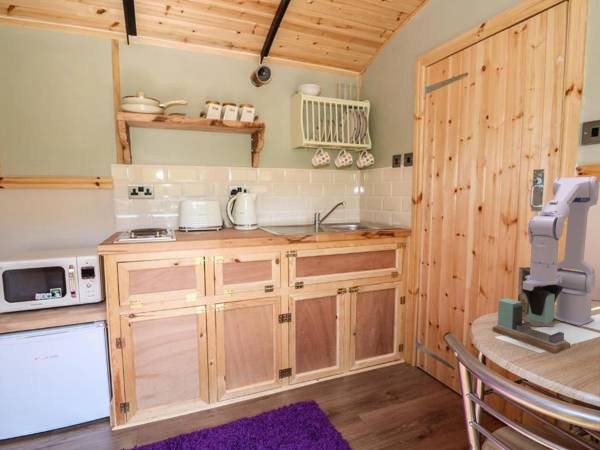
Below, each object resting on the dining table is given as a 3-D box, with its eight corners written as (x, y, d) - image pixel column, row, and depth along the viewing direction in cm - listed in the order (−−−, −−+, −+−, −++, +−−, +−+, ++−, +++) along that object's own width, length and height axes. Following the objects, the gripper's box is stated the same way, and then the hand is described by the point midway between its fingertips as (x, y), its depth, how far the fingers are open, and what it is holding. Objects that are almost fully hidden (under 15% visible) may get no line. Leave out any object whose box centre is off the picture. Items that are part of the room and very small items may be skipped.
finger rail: (507, 326, 101) (508, 296, 100) (569, 347, 86) (571, 313, 86) (492, 330, 97) (493, 300, 97) (555, 353, 83) (556, 318, 82)
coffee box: (554, 327, 99) (557, 273, 98) (530, 326, 100) (533, 273, 99) (538, 316, 108) (540, 266, 107) (516, 315, 109) (518, 266, 108)
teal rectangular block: (553, 320, 88) (554, 294, 88) (544, 323, 86) (546, 296, 86) (534, 314, 92) (535, 289, 92) (526, 317, 90) (527, 291, 90)
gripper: (542, 256, 94) (540, 304, 96) (511, 262, 88) (509, 313, 89) (572, 261, 88) (569, 311, 89) (541, 267, 82) (538, 321, 83)
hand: (541, 312), depth 89 cm, fingers closed on teal rectangular block, 4 cm apart
